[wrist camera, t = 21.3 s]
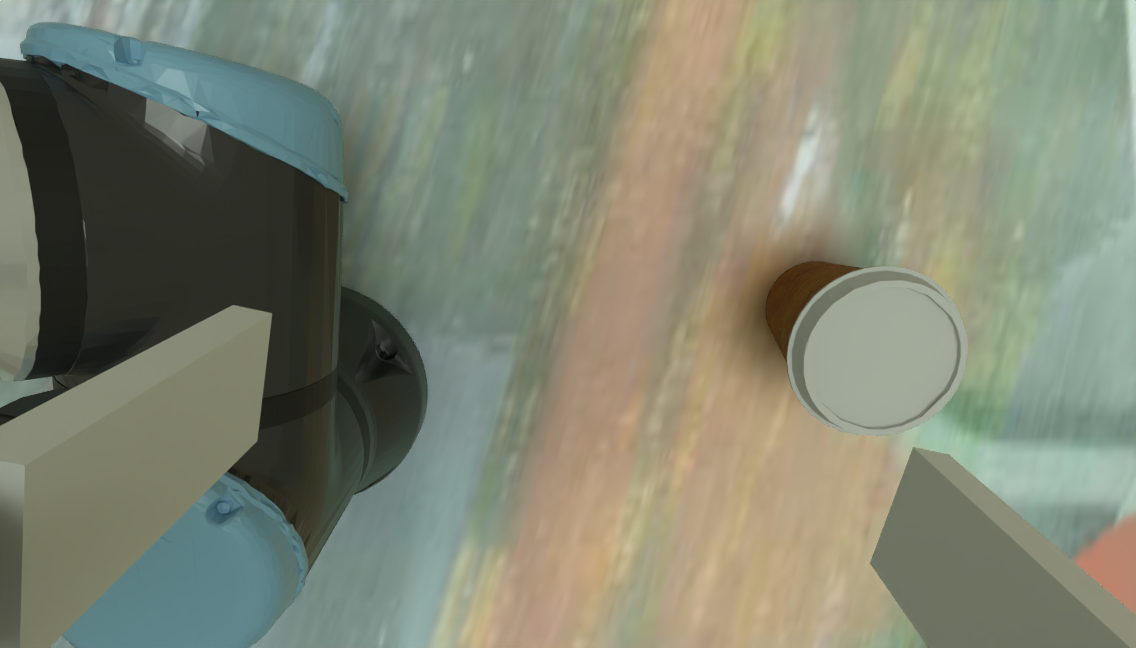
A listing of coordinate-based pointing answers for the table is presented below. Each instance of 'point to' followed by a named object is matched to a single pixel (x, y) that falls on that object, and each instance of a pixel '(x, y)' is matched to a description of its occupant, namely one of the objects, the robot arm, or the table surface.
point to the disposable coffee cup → (867, 344)
